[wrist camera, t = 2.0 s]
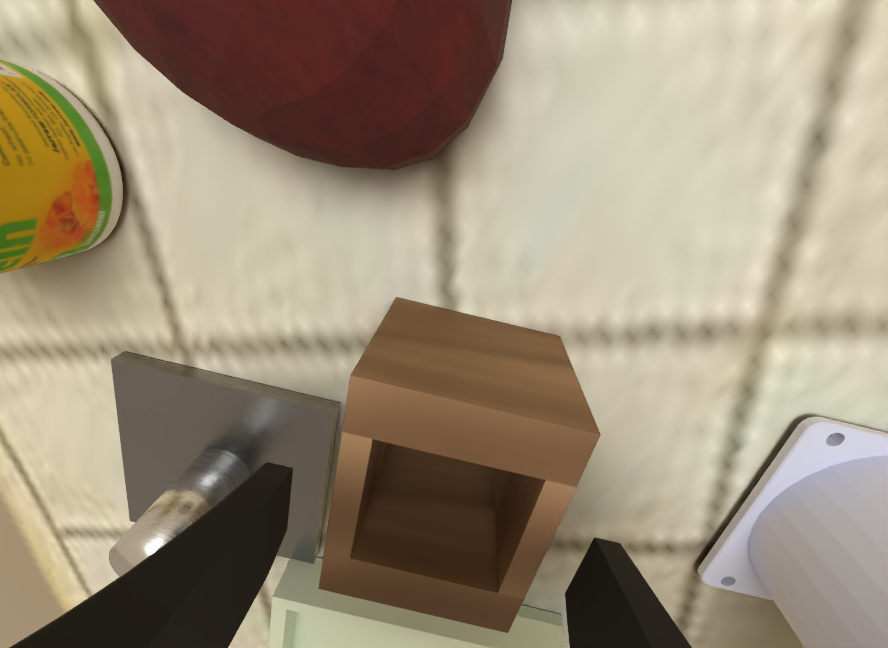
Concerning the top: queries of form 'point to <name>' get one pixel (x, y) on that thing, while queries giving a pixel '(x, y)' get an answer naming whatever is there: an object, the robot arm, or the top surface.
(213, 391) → the light stand
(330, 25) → the potato
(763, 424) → the top surface
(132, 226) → the top surface
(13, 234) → the supplement bottle
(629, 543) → the top surface
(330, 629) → the tray
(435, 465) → the brown wooden box
